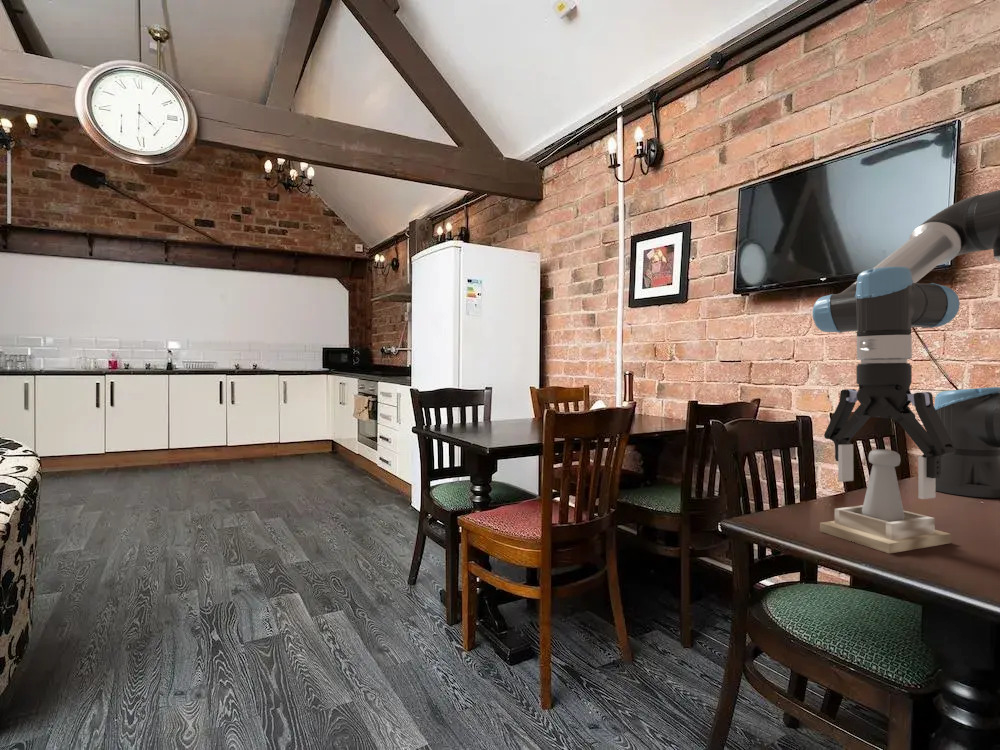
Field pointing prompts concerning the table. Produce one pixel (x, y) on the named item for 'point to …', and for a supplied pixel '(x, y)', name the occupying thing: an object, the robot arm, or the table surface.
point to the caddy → (885, 530)
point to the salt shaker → (883, 487)
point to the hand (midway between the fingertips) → (883, 489)
